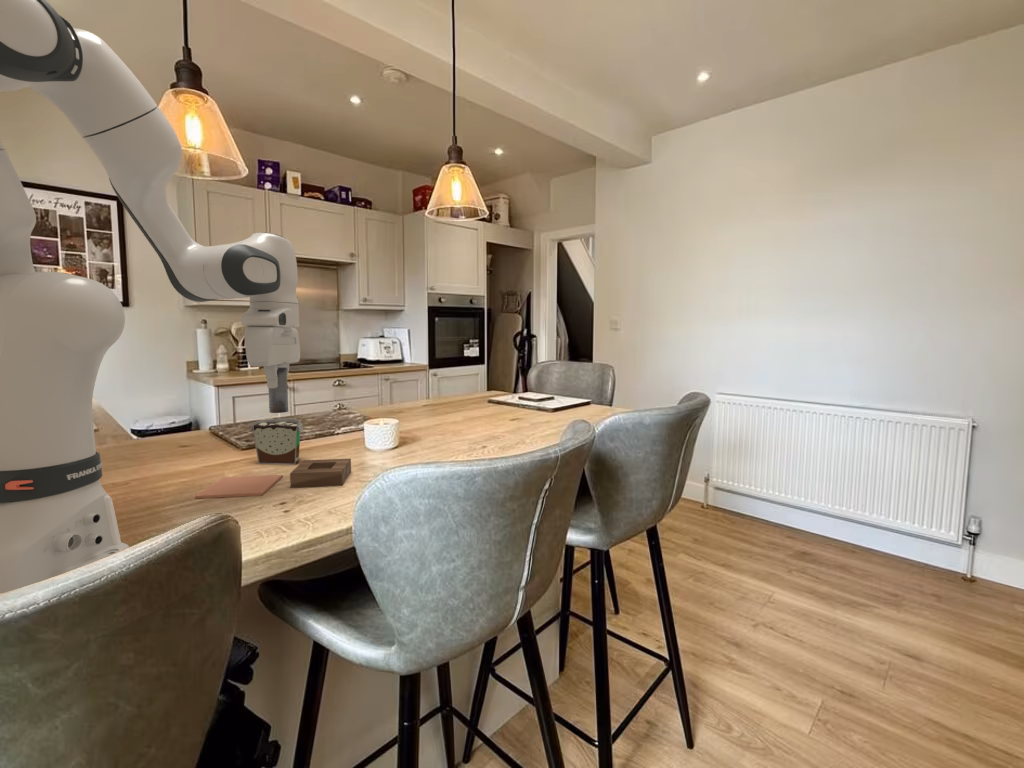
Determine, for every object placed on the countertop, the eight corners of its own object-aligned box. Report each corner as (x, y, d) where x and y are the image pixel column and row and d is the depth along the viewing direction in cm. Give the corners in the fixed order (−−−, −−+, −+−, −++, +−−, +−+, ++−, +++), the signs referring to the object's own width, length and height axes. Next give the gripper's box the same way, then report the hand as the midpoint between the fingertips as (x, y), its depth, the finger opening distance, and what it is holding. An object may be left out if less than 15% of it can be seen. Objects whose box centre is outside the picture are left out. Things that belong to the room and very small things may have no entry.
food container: (314, 458, 121) (312, 418, 120) (301, 464, 115) (299, 423, 114) (267, 457, 122) (265, 417, 121) (252, 463, 116) (249, 422, 115)
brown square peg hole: (342, 485, 99) (341, 471, 99) (290, 487, 98) (289, 473, 98) (351, 471, 109) (350, 458, 109) (304, 473, 108) (304, 460, 108)
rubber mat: (262, 495, 94) (262, 492, 94) (195, 498, 92) (195, 496, 92) (282, 476, 105) (282, 474, 105) (223, 479, 104) (223, 477, 104)
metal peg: (286, 413, 97) (284, 363, 96) (263, 413, 97) (261, 363, 96) (293, 410, 102) (292, 362, 101) (271, 410, 101) (269, 362, 100)
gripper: (276, 320, 107) (279, 382, 108) (236, 315, 87) (240, 392, 88) (306, 320, 108) (308, 382, 109) (273, 315, 88) (276, 391, 89)
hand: (277, 386), depth 99 cm, fingers closed on metal peg, 3 cm apart
